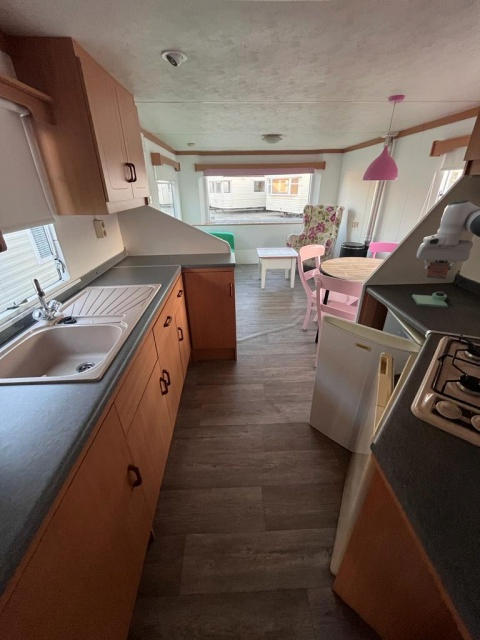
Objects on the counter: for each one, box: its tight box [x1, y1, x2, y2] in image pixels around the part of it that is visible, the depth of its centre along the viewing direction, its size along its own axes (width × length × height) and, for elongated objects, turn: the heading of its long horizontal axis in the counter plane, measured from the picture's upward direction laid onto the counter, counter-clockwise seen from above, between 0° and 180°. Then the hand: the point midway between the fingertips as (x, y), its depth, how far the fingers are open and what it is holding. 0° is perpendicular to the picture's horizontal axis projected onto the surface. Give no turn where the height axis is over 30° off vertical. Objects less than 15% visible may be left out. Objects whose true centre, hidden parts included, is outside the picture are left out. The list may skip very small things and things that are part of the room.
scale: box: [411, 292, 450, 309], centre depth 135 cm, size 14×12×3 cm
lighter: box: [425, 260, 452, 280], centre depth 126 cm, size 8×3×10 cm, turn 65°
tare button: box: [435, 290, 445, 296], centre depth 136 cm, size 3×3×2 cm
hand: (437, 269), depth 127 cm, fingers closed on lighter, 7 cm apart
